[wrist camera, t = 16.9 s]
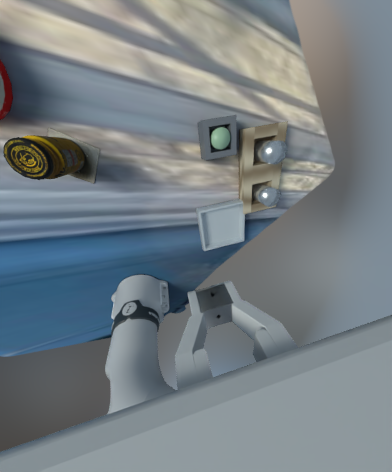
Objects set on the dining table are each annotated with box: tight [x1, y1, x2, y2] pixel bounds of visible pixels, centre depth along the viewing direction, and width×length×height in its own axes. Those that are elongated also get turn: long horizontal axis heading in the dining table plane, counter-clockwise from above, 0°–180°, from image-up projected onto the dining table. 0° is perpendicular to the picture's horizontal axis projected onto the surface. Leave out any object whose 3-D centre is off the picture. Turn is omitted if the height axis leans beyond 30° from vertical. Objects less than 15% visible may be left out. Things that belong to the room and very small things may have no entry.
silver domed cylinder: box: [252, 183, 281, 207], centre depth 41 cm, size 4×4×7 cm
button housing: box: [198, 115, 237, 160], centre depth 34 cm, size 7×7×4 cm
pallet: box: [239, 121, 288, 214], centre depth 40 cm, size 20×10×3 cm, turn 8°
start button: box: [209, 127, 230, 149], centre depth 33 cm, size 4×4×3 cm
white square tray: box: [196, 199, 245, 251], centre depth 46 cm, size 13×13×2 cm
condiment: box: [4, 128, 100, 183], centre depth 27 cm, size 7×8×12 cm
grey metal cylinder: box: [253, 141, 287, 164], centre depth 35 cm, size 4×4×7 cm
